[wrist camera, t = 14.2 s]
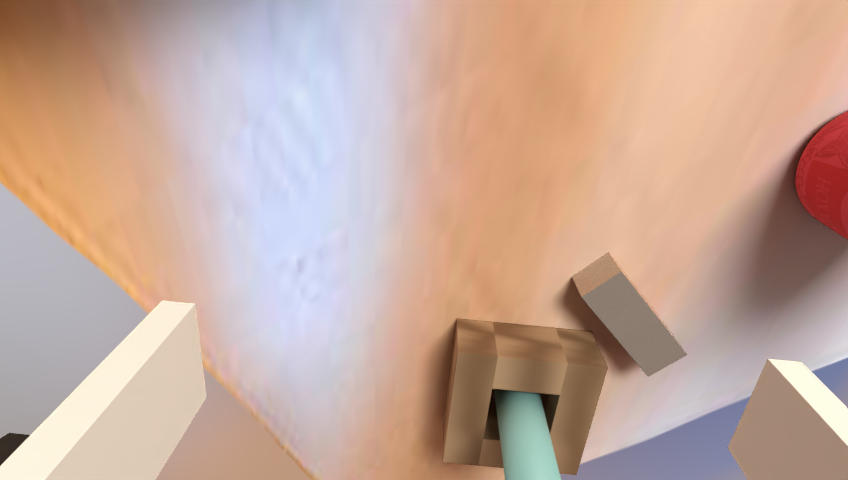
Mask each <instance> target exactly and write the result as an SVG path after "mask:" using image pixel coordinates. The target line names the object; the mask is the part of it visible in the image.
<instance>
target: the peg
mask: <svg viewBox="0 0 848 480" xmlns="http://www.w3.org/2000/svg"><path fill="white" fill-rule="evenodd" d="M494 396H495V403H496V411H497V419H498V427H499V435H500V443H501V451H502V458H503V466H504V474H505V480H561V477H560V473H559V469H558V465H557V461H556V457H555V453H554V449H553V445H552V441H551V437H550V433H549V429H548V425H547V421H546V417H545V413H544V408H543V404H542V400H541V396H540V393H534V392H523V391H513V390H503V389H494Z"/></svg>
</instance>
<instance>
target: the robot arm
mask: <svg viewBox="0 0 848 480" xmlns="http://www.w3.org/2000/svg"><path fill="white" fill-rule="evenodd" d="M205 399H206V388H205V380H204V371H203V363H202V355H201V346H200V338H199V329H198V321H197V312H196V304H193V303H182V302H172V301H161V302H160V303H159V304H158V305H157V306H156V307H155V308H154V309H153V310H152V311H151V313H150V314H149V315H148V316H147V317H146V318H145V319H144V320H143V321H142V322H141V323H140V324H139V325H138V326H137V327H136V328H135V329H134V330H133V331H132V332H131V333H130V334H129V335H128V336H127V337H126V338H125V339H124V340H123V341H122V342H121V343H120V344H119V345H118V346H117V347H116V348H115V349H114V350H113V351H112V352H111V354H110V355H108V356H107V358H106V359H104V361H103V362H102V363H101V364H100V365H99V366H98V367H97V368H96V369H95V370H94V371H93V372H92V373H91V374H90V375H89V376H88V377H87V378H86V379H85V380H84V381H83V382H82V383H81V384H80V385H79V386H78V387H77V388H76V389H75V390H74V391H73V392H72V393H71V394H70V395H69V396H68V397H67V398H66V399H65V400H64V401H63V402H62V403H61V404H60V405H59V406H58V408H57V409H56V410H55V411H54V412H53V413H52V414H51V415H50V416H49V417H48V418H47V419H46V420H45V421H44V422H43V423H42V424H41V425H40V426H39V427H38V428H37V429H36V430H35V431H34V432H33V433H32V434H31V435H24V434H14V433H9V434H7V435H5V436H4V437H2V438H1V439H0V480H155V479H156V478H157V477H158V475H159V473H160V472H161V470H162V468H163V467H164V465H165V464H166V462H167V460H168V459H169V457H170V456H171V454H172V452H173V451H174V449H175V447H176V446H177V444H178V443H179V441H180V439H181V438H182V436H183V435H184V433H185V431H186V430H187V428H188V427H189V425H190V423H191V422H192V420H193V419H194V417H195V415H196V414H197V412H198V410H199V409H200V407H201V406H202V404H203V402H204V401H205ZM728 449H729V451H730V452H731V454H732V455H733V457H734V459H735V460H736V462H737V463H738V465H739V466H740V468H741V469H742V471H743V473H744V474H745V476H746V477H747V479H748V480H848V408H847V407H846V406H845V405H844V404H843V403H842V402H841V401H840V400H839V399H838V398H837V397H836V396H835V395H834V394H833V393H832V392H831V391H830V390H829V389H828V388H827V387H826V386H825V385H824V384H823V383H822V382H821V381H820V380H819V379H818V378H817V377H816V376H815V375H814V374H813V373H812V372H811V371H810V370H809V369H808V368H807V367H806V366H805V365H804V364H803V363H802V362H797V361H786V360H776V359H768V360H767V362H766V364H765V366H764V368H763V371H762V373H761V375H760V377H759V379H758V382H757V384H756V386H755V388H754V391H753V393H752V395H751V397H750V399H749V402H748V404H747V406H746V408H745V410H744V413H743V415H742V417H741V420H740V422H739V424H738V426H737V428H736V430H735V433H734V435H733V437H732V439H731V442H730V444H729V446H728Z"/></svg>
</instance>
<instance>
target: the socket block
mask: <svg viewBox="0 0 848 480" xmlns="http://www.w3.org/2000/svg"><path fill="white" fill-rule="evenodd" d="M607 369H608V367H607V365H606V362H605V360H604V358H603V356H602V353H601V351H600V349H599V347H598V345H597V342H596V340H595V338H594V336H593V333H592V331H582V330H571V329H561V328H550V327H540V326H530V325H519V324H509V323H498V322H488V321H477V320H467V319H457V322H456V329H455V337H454V344H453V352H452V359H451V367H450V374H449V382H448V389H447V397H446V405H445V412H444V420H443V462H447V463H457V464H468V465H478V466H488V467H499V468H504V466H503V458H502V451H501V443H500V435H499V427H498V419H497V411H496V403H495V400H490V398H491V393H492V389H503V390H513V391H523V392H534V393H541V394H540V396H541V400H542V404H543V408H544V413H545V417H546V421H547V425H548V429H549V433H550V437H551V441H552V445H553V449H554V453H555V457H556V461H557V465H558V469H559V473H561V474H571V475H576V474H577V471H578V467H579V464H580V461H581V457H582V454H583V450H584V447H585V444H586V440H587V437H588V433H589V430H590V427H591V423H592V420H593V416H594V413H595V410H596V406H597V403H598V399H599V396H600V393H601V389H602V386H603V382H604V379H605V375H606V372H607Z"/></svg>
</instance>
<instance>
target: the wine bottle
mask: <svg viewBox="0 0 848 480" xmlns="http://www.w3.org/2000/svg"><path fill="white" fill-rule="evenodd" d="M796 191H797V195H798V197H799V200H800V202H801V203H802V205H803V206H804V208H805V209H806V210H807V211H808V212H809V213H810V214H811V215H812V216H813V217H814V218H816V219H817V220H818V221H820V222H821V223H823V224H824V225H826V226H827V227H829V228H830V229H832V230H833V231H835V232H836V233H838V234H840V235H841V236H843V237H844V238H846V239H848V111H846V112H845V113H843V114H841V115H839V116H838V117H836V118H835V119H833V120H832V121H830V122H829V123H828V124H826V125H825V126H824V127H823V128H822V129H821V130H820V131H819V132H818V133H817V134H816V135H815V136H814V137H813V138H812V140H811V141H810V142H809V144H808V145H807V146H806V148H805V150H804V152H803V153H802V156H801V158H800V160H799V163H798V167H797V171H796Z"/></svg>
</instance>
